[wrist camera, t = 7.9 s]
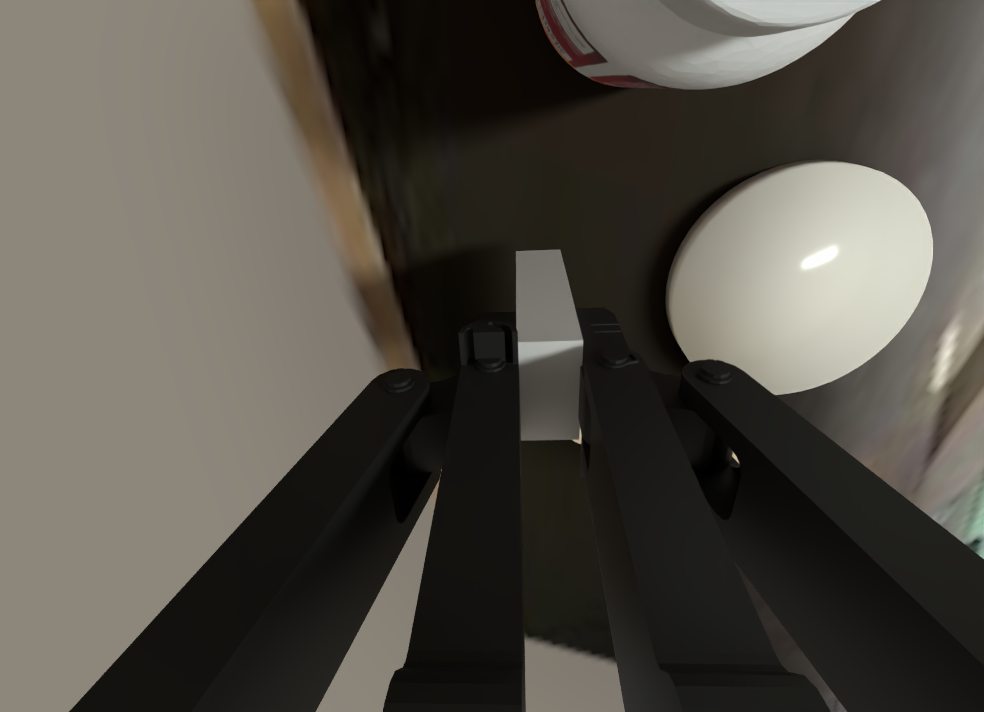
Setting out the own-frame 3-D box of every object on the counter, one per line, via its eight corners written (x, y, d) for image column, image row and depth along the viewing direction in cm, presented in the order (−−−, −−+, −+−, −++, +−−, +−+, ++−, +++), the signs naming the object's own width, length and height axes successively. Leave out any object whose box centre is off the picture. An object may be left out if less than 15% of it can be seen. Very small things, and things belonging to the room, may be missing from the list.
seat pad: (681, 165, 18) (690, 170, 17) (952, 153, 17) (976, 157, 16) (653, 384, 22) (659, 397, 21) (869, 379, 21) (884, 392, 20)
